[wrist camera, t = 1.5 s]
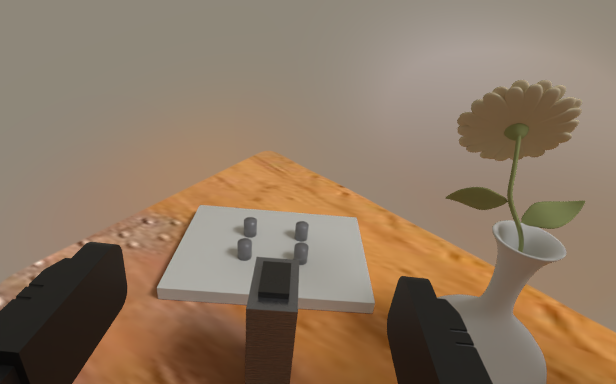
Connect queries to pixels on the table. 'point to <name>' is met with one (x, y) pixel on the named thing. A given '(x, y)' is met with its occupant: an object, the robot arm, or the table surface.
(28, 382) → the robot arm
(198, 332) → the table surface
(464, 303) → the flower in vase
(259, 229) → the tray
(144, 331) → the table surface
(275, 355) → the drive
